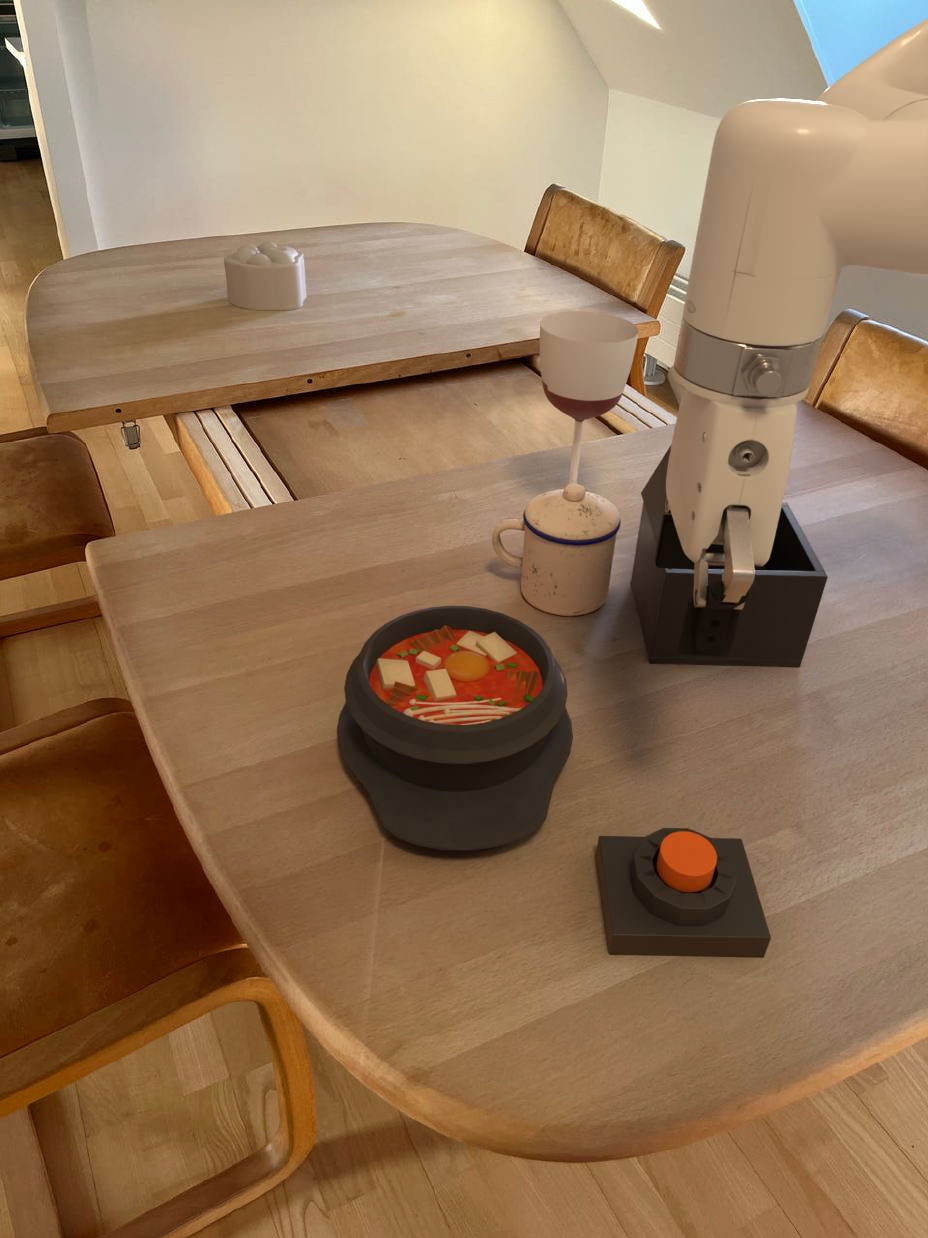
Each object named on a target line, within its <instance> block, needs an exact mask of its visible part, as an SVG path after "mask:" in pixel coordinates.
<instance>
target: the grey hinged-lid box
mask: <svg viewBox="0 0 928 1238" xmlns="http://www.w3.org/2000/svg"><path fill="white" fill-rule="evenodd" d="M788 503H789V502H787V501H786V502H785V501H784V502H782V507H781V511H780V516H779V520H778V525H777V529H776V534H775V538H774V542H773V547H772V551H771V554H770V558H769V560H768V561H767V563H766V564H764V565H763V566H756V565H754V568H755V578H754V582H753V584H752V585H751V587H750V588H749V590H748V592H747V593H749V596H748V598H746V600H745V604H744V608H743V609H742V610H741V612H740V616H739V620H738V623H737V627H736V631H735V635H734V638H733V642H732V646H731V650H730V653H729V654H728V655H727V656H700V655H682V654H680V653H679V652H678V649H677V641H678V637H679V632H680V628H681V623H682V619H683V614H684V610H685V605H686V600H687V597H693V596H694V570H692V569H671V570H670V569H668V568H658V567H657V566H656V564H655V554H656V549H657V545H656V542H655V538H654V535H653V532H652V528H651V525H650V522H649V518H648V515H647V512H646V508H645V505H644V502H643V503H642V507H641V515H640V519H639V526H638V533H637V539H636V545H635V553H634V559H633V564H632V565H633V566H632V572H631V577H630V578H631V579H630V588H631V592H632V593H631V594H632V596H633V601H634V604H635V608H636V609H635V610H636V614H637V617H638V621H639V622H638V623H639V626H640V629H641V630H640V631H641V635H642V638H643V642H644V647H645V650H646V653H647V658H648V662H649V664H651V665H690V666H691V665H693V666H694V665H697V666H699V665H700V666H739V667H740V666H741V667H742V666H743V667H783V668H784V667H786V668H787V667H789V668H791V667H792V668H800V667H801V666H802V664H803V663H802V662H803V659H804V656H805V653H806V649H807V646H808V642H809V641H810V636H811V634H812V631H813V627H814V624H815V620H816V616H817V614H818V610H819V607H820V604H821V601H822V597H823V594H824V591H825V588H826V584H827V581H828V577H829V576H828V575H827V572H826V571H825V569H824V567H823V565H822V563H821V561H820V560H819V558H818V555H817V554H816V552H815V550H814V549H813V547H812V545H811V543H810V541H809V539H808V537H807V535H806V533H805V532H804V530H803V528H802V527H801V524H800V523H799V521H798V519H797V518H796V516H795V514H794V512H793V510H792V508H791V507H790V505H789V504H788ZM706 552H707V553H724V547H723V545H719V544H711V545H710V546H709V548H708V549H706ZM724 569H725V566H716V565H708V586H709V585H710V584H712V583H713V582H714V581H722V575H723V572H724Z"/></svg>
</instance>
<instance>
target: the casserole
mask: <svg viewBox="0 0 928 1238" xmlns="http://www.w3.org/2000/svg"><path fill="white" fill-rule="evenodd" d="M345 676H346V677H345V681H344V686H343V688H344V697H345V702H344V705H343V706H342V709H341V711H340V713H339V717H338V721H337V726H336V727H337V728H336V734H337V744H338V745H337V746H338V748H339V751H340V753H341V756H342V759H343V760H344V761H343V762H344V763H345V765H346V766H347V767H348V768H349V770H350V771H351V773H352V774H353V775H354V777H356V779H357V780H358V781H359V783H360V784H361V785H362V787H363V788H364V790H365V791H366V792H367V794H368V797H369V799H370V801H371V803H372V805H373V807H374V809H375V812H376V814H377V816H378V819H379V820H380V823H381V825H382V827H383V828H384V829H386V830H387V831H388V832H389V833H390V834H392V835H393V836H394V837H395V838H397V839H399V840H401V841H404V842H407V843H409V844H412V845H415V846H419V847H424V848H429V849H435V850H439V851H466V852H470V851H476V850H485V849H492V848H497V847H500V846H503V845H504V846H505V845H507V844H511V843H514V842H518V841H519V840H521V839H523V838H525V837H527V836H529V835H531V834H534V833H535V832H536V831H537V830H538V829H539V828H540V827H541V825H542V824H543V823H544V822H545V821H546V820H547V817H548V813H549V809H550V804H551V799H552V795H553V792H554V786H555V784H556V782H557V779H558V778H559V776H560V774H561V772H562V770H563V769H564V766H565V764H566V762H567V760H568V759H569V756H570V754H571V751H572V747H573V746H572V745H573V739H574V733H573V732H574V731H573V723H572V718H571V717H570V714H569V711H568V708H567V706H566V704H567V700H568V694H569V693H568V685H567V678H566V676H565V673H564V671H563V669H562V666H561V665H560V663H559V662H558V661H557V660H556V658H555V657H554V655H553V652H552V650H551V648H550V646H549V645H548V644H547V642H546V641H545V640H544V638H543V637H542V636H541V635H540V634H538V632H537V631H535V629H533V628H532V627H530V626H529V625H527V624H525V623H524V622H522V621H521V620H519V619H516V618H514V617H512V616H510V615H507V614H505V613H502V612H499V611H496V610H492V609H488V608H483V607H476V606H470V605H443V606H441V605H440V606H432V607H427V608H421V609H417V610H414V611H410V612H408V613H405V614H402V615H399V616H397V617H395V618H393V619H392V620H389V621H388V622H385V624H383V625H381V626H380V627H379V628H378V629H377V630H375V631H374V632H372V634H371V635H370V636H369V638H367V640H366V641H365V642H364V643H363V646H362V648H361V650H360V652H359V653H358V654H357V656H355V657H354V659H353V660H352V663H350V666H349V668H348V670H347V673H346V675H345Z"/></svg>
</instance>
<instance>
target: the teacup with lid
mask: <svg viewBox="0 0 928 1238" xmlns="http://www.w3.org/2000/svg"><path fill="white" fill-rule="evenodd" d="M522 514H523V516H522V519H518V518H508V519H503V520H501V521H500V522H499V523H497V524H496V525H495V527H494V529H493V531H492V535H491V543H492V548H493V550H494V552H495V554H496V555H497V557H498V558H499V559H500V560H501V561H502V562H503V563H505V564H507V565H509V566H512V567H514V568H515V567H516V568H520V569H521V578H520V590H521V594H522V596H523V598H524V599H525V600H526V601H527V602H528V603H529V604H530V605H531V606H533V607H534V608H535V609H538V610H540V611H542V612H545V613H547V614H551V615H555V616H564V617H573V616H576V617H577V616H582V615H586V614H589V613H592V612H595V611H596V610H598V609H600V608H601V607H602V606H603V605H604V604H605V602H606V601H607V600H608V596H609V591H610V582H611V577H612V569H613V562H614V555H615V547H616V540H617V534H618V532H619V531H620V527H621V517H620V513H619V511H618V509H617V507H616V506H615V505H614V504H613V503H612V502H611V501H610V500H608V499H607V498H606V497H603V496H601V495H599V494H597V493H595V492H594V493H593V492H590V491H587V490H586V489H585V487H584V486H583V485H581V484H579V483H577V484H569V483H568V484H567V485H566V486H564V488H562V489H561V488H559V489H553V490H549V491H545V492H542V493H540V494H538V495H535V496H534V497H533V498H531V499H530V501H529V502H528V503H527V504H526V506H525V508H524V510H523V513H522ZM508 530H516V531H522V532H524V534H523V535H524V536H523V548H522V549H523V551H522V556H517V555H514V554H512V553H510V552H509V551H507V549H506V548H505V547H504V544H503V543H502V540H501V533H502V532H504V531H508Z"/></svg>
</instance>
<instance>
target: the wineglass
mask: <svg viewBox="0 0 928 1238" xmlns="http://www.w3.org/2000/svg"><path fill="white" fill-rule="evenodd" d="M638 336H639V328H638V326H637V325H636V324H634V323H633V322H632V321H630V320H627V318H623V317H621V316H617V315H615V314H611V313H610V314H609V313H605V312H598V311H587V310H566V311H558V312H554V313H550V314H548V315H545V316H544V317H542V318H541V320H540V322H539V367H540V376H541V383H542V384H541V385H542V389H543V392H544V395H545V397H546V399H547V401H548V402H549V403H550V404H551V405H552V406H553V407H554V408H555V409H557V410H558V411H560V412H561V413H563V414H564V415H566V416H568V417H570V418H572V419H573V420H574V429H573V439H572V449H571V460H570V469H569V478H568V485H569V484H578V475H579V465H580V456H581V448H582V438H583V429H584V421H586V420H589V419H593V418H597V417H600V416H602V415H604V414H606V413H608V412H610V411H611V410H612V409H614V408H615V407H616V406H617V405H618V403H619V402H620V401H621V398H622V396H623V394H624V392H625V389H626V385H627V382H628V378H629V376H630V373H631V369H632V366H633V361H634V358H635V353H636V349H637V343H638Z"/></svg>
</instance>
